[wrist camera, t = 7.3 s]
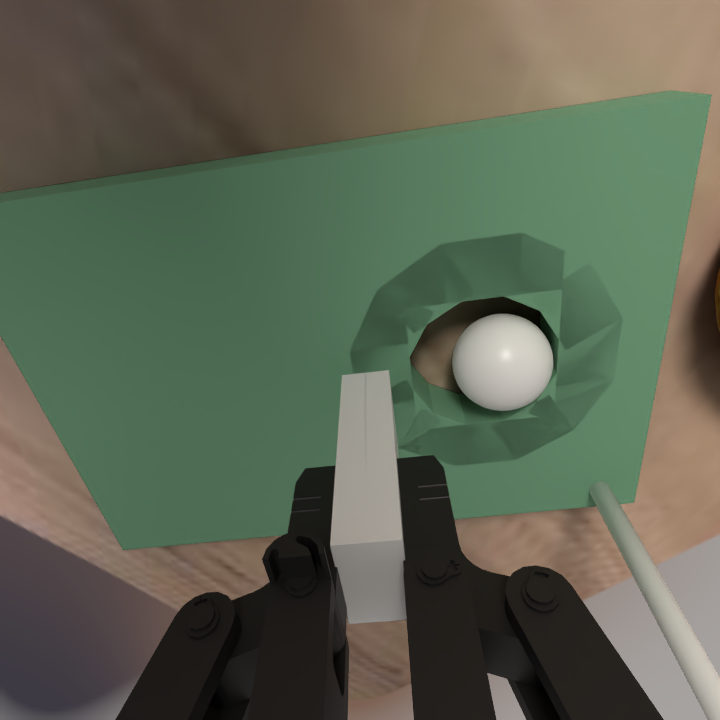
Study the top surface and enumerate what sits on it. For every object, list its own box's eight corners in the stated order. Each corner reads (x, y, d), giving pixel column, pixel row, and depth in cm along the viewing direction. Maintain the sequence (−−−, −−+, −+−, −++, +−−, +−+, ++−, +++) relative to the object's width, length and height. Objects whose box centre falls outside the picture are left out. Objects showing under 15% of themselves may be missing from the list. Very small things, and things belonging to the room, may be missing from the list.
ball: (454, 347, 16) (568, 340, 15) (447, 301, 19) (543, 293, 18) (457, 433, 17) (560, 428, 17) (450, 378, 20) (538, 373, 20)
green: (-26, 197, 17) (-1058, 563, 5) (671, 90, 15) (1976, 223, 3) (140, 515, 24) (-82, 967, 12) (613, 468, 22) (901, 940, 10)
